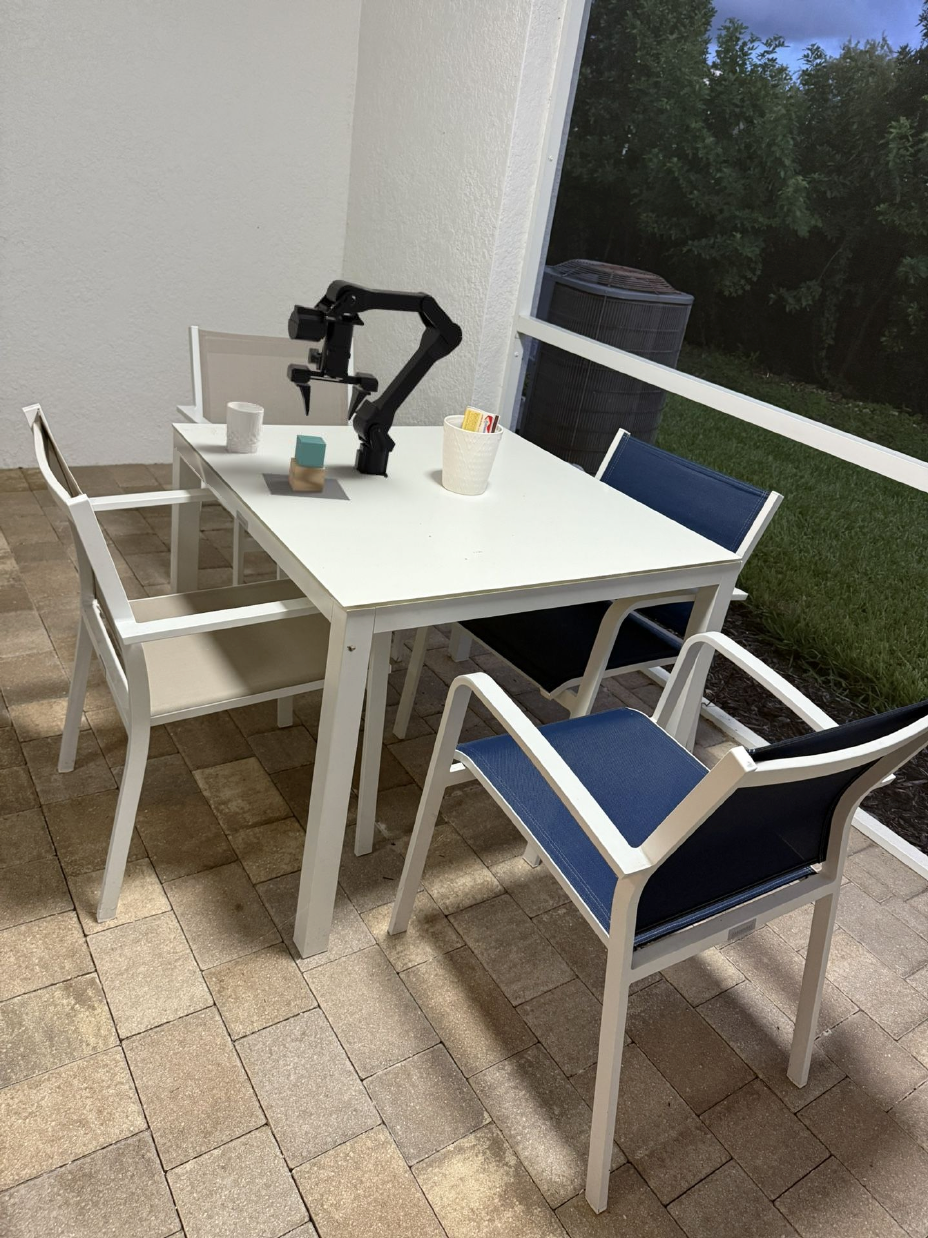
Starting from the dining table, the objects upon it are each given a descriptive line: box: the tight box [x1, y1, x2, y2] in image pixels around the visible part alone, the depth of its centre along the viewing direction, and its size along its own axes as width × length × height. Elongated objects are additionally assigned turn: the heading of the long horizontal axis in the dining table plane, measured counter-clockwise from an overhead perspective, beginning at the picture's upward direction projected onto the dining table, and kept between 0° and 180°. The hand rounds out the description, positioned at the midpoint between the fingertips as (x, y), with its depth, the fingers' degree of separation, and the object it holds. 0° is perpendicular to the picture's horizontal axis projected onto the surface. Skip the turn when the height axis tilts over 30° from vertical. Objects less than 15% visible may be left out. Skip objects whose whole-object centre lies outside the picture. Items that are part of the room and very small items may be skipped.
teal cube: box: [293, 434, 327, 468], centre depth 186 cm, size 5×5×5 cm
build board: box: [261, 472, 351, 501], centre depth 189 cm, size 16×13×1 cm
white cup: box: [225, 401, 265, 455], centre depth 202 cm, size 8×8×10 cm
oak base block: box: [288, 457, 326, 492], centre depth 188 cm, size 6×6×5 cm
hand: (327, 417), depth 197 cm, fingers open, 9 cm apart
